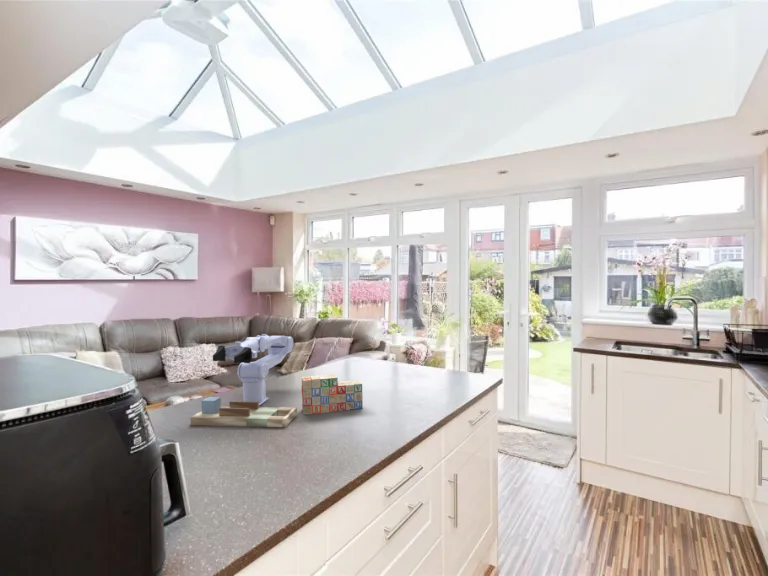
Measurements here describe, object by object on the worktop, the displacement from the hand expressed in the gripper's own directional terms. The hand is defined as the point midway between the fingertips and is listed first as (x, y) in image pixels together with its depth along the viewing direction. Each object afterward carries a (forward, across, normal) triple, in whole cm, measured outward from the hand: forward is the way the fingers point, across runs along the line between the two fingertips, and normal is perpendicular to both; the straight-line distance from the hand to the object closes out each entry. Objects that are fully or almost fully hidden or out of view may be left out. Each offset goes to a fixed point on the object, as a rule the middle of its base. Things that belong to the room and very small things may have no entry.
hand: (224, 359), depth 138 cm
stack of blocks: (-16, +34, +20) cm, 42 cm away
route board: (-1, +7, +21) cm, 22 cm away
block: (0, -5, +19) cm, 19 cm away
